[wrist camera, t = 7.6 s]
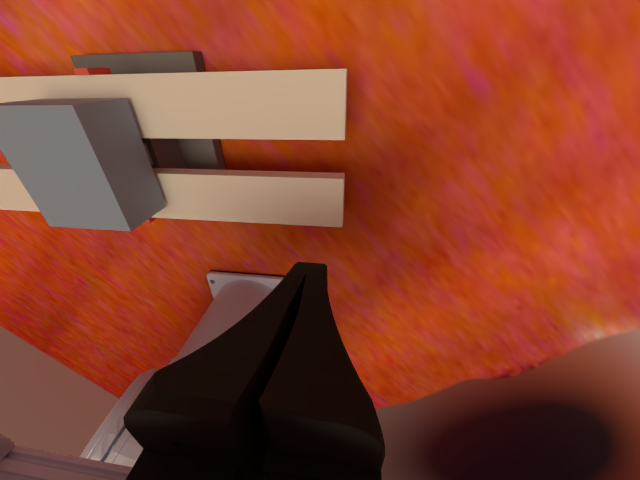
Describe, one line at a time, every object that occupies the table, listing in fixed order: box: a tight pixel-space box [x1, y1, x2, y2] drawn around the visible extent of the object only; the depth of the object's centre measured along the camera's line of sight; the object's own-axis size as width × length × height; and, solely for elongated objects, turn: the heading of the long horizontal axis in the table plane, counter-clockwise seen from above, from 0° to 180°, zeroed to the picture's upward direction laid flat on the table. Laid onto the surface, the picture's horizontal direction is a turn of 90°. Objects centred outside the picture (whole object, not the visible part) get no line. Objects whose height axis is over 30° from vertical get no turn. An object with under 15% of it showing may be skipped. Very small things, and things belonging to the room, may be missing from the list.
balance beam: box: [0, 51, 348, 227], centre depth 17 cm, size 26×10×5 cm, turn 91°
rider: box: [0, 98, 166, 231], centre depth 15 cm, size 5×6×4 cm
